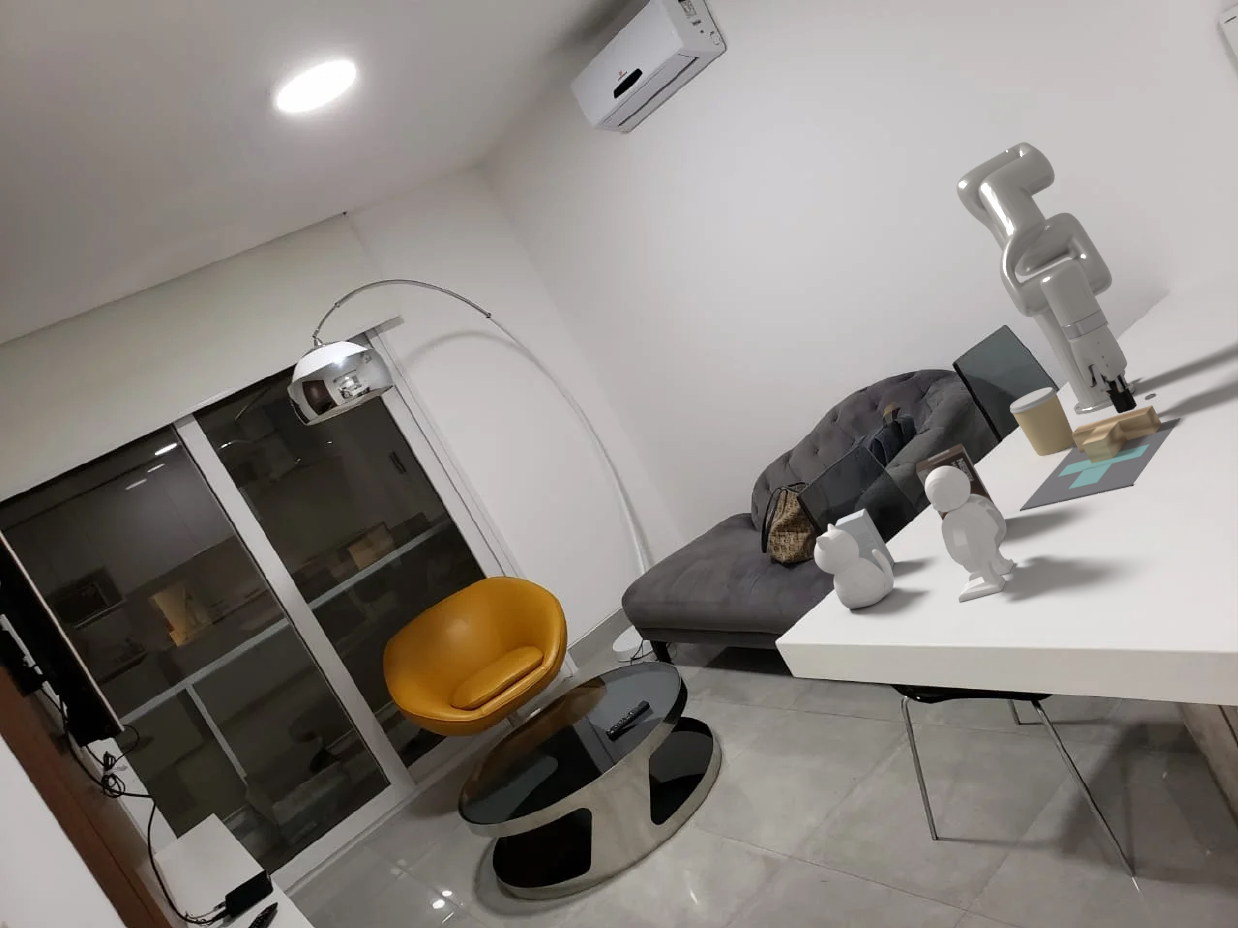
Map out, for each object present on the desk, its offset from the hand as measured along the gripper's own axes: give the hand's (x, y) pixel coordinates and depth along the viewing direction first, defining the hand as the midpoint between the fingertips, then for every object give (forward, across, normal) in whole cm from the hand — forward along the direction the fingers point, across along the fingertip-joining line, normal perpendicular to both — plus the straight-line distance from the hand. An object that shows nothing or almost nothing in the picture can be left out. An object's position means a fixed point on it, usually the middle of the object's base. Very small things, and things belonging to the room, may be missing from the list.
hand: (1127, 409), depth 172 cm
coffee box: (+4, +39, -16) cm, 42 cm away
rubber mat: (+4, +18, 0) cm, 19 cm away
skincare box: (+4, +47, -34) cm, 58 cm away
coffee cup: (+3, +1, -16) cm, 16 cm away
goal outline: (+4, +21, -1) cm, 21 cm away
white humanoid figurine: (+5, +59, -4) cm, 60 cm away
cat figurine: (+5, +59, -28) cm, 65 cm away
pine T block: (+3, +11, 0) cm, 12 cm away
